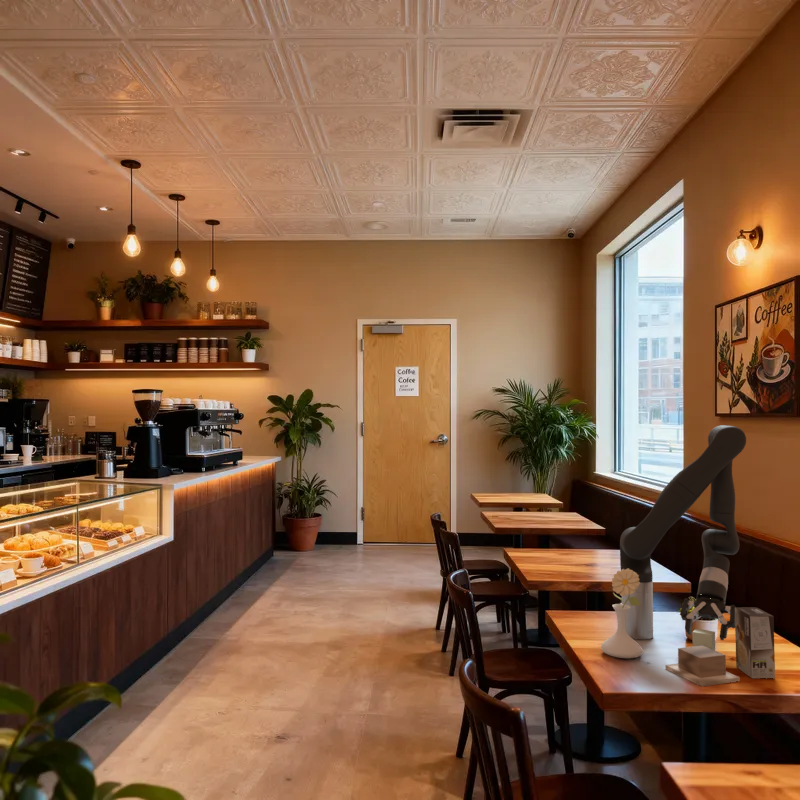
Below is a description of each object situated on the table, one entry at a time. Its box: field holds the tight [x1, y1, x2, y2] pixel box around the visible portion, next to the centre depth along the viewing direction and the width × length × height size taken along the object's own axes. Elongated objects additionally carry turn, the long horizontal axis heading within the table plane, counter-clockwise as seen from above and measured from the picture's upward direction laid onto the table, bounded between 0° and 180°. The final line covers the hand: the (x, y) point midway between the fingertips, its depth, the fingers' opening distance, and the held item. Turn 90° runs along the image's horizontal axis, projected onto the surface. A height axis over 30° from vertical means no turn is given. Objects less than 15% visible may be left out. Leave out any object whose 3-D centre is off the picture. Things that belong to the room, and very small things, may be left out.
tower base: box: [665, 645, 741, 687], centre depth 173 cm, size 13×12×6 cm
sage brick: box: [691, 628, 716, 651], centre depth 184 cm, size 5×4×8 cm
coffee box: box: [734, 606, 776, 680], centre depth 175 cm, size 9×6×16 cm
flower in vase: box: [600, 569, 644, 659], centre depth 188 cm, size 13×11×25 cm
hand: (704, 635), depth 185 cm, fingers open, 8 cm apart
